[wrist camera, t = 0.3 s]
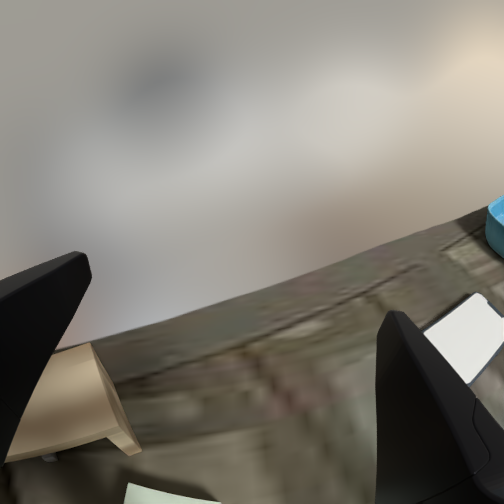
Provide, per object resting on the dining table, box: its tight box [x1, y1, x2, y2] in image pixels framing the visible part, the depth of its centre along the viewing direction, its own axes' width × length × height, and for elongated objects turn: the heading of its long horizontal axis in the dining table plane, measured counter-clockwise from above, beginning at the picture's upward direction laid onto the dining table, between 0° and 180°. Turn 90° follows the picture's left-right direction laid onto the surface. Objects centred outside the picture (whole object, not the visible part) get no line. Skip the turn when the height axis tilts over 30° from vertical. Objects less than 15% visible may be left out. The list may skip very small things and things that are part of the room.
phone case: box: [421, 292, 504, 387], centre depth 26 cm, size 9×2×16 cm
